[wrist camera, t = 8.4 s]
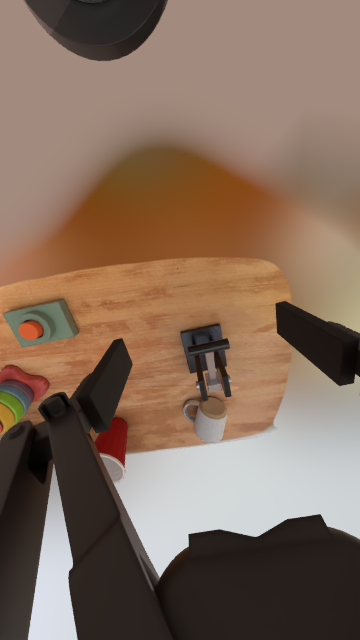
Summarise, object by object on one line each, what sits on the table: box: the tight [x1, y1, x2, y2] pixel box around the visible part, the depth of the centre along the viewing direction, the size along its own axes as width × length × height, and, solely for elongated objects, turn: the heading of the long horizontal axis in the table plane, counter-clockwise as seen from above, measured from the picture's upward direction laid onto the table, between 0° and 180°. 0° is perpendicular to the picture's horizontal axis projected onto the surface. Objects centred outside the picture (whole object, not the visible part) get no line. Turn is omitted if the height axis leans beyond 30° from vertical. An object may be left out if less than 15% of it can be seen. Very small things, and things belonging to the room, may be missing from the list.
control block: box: [3, 299, 79, 347], centre depth 39 cm, size 12×8×4 cm, turn 102°
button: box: [18, 320, 44, 340], centre depth 37 cm, size 4×4×2 cm
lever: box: [187, 338, 230, 393], centre depth 29 cm, size 13×6×2 cm, turn 12°
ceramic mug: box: [183, 397, 227, 443], centre depth 47 cm, size 11×8×8 cm
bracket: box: [180, 324, 231, 402], centre depth 38 cm, size 11×9×14 cm
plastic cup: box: [94, 418, 128, 484], centre depth 47 cm, size 11×11×12 cm
